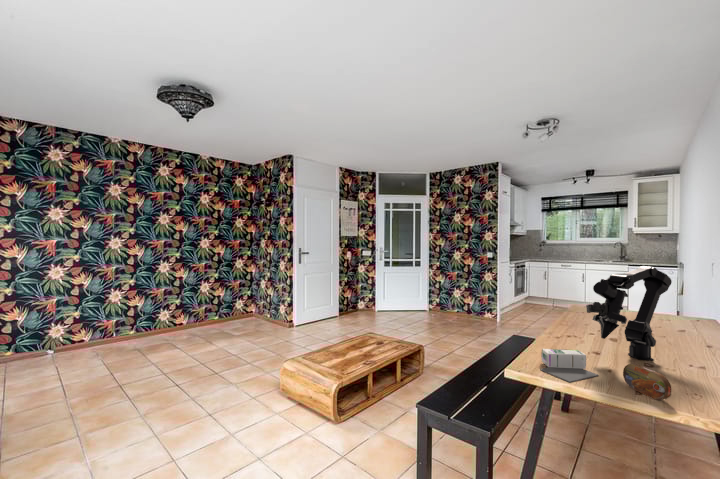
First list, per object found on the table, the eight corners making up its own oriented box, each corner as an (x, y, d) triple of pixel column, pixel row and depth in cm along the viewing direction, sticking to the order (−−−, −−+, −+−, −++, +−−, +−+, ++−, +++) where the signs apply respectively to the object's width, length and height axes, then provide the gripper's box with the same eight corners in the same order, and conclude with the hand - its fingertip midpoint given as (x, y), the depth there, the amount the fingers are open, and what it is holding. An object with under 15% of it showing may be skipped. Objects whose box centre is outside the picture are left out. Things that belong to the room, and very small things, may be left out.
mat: (568, 364, 135) (568, 363, 135) (598, 375, 124) (598, 374, 124) (540, 370, 129) (540, 369, 129) (569, 382, 118) (569, 381, 118)
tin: (622, 383, 117) (622, 360, 117) (630, 383, 117) (630, 360, 117) (664, 405, 102) (664, 378, 102) (673, 404, 102) (674, 377, 102)
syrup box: (586, 354, 129) (547, 352, 130) (586, 369, 129) (547, 367, 131) (578, 349, 134) (541, 347, 136) (578, 364, 134) (541, 361, 136)
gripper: (584, 298, 148) (574, 330, 146) (599, 292, 131) (587, 329, 129) (613, 307, 144) (603, 341, 142) (632, 303, 127) (621, 341, 125)
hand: (602, 338), depth 134 cm, fingers closed
